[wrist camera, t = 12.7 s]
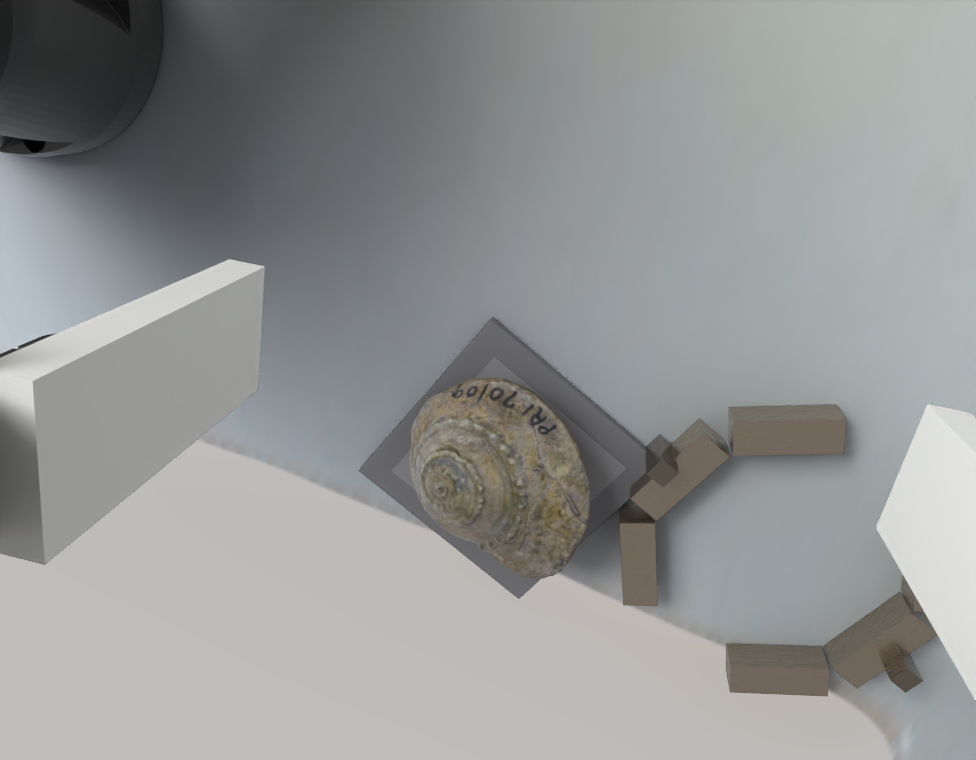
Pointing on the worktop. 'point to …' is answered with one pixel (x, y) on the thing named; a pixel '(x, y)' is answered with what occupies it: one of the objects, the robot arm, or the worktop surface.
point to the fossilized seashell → (501, 474)
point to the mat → (598, 437)
